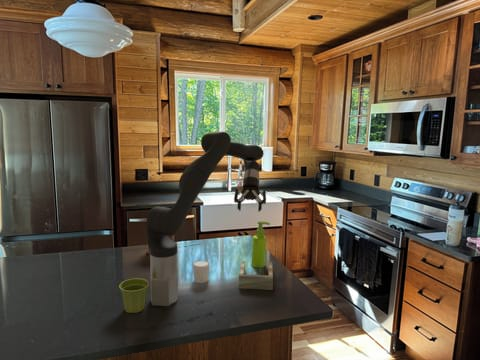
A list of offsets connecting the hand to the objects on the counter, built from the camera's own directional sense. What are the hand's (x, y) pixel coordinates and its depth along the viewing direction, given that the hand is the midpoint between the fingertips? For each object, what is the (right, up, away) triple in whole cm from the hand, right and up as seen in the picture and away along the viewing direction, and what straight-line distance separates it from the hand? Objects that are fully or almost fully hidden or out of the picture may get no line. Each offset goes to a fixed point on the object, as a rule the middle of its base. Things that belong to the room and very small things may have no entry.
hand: (249, 210), depth 147 cm
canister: (-43, -22, +17) cm, 51 cm away
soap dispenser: (+4, -25, +4) cm, 26 cm away
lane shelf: (+2, -27, -10) cm, 29 cm away
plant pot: (-39, -30, -35) cm, 60 cm away
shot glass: (-20, -27, -12) cm, 36 cm away
